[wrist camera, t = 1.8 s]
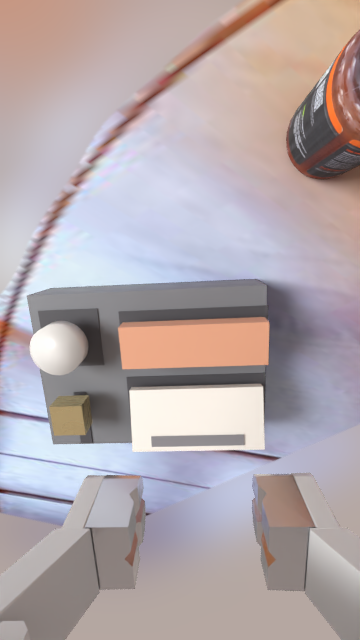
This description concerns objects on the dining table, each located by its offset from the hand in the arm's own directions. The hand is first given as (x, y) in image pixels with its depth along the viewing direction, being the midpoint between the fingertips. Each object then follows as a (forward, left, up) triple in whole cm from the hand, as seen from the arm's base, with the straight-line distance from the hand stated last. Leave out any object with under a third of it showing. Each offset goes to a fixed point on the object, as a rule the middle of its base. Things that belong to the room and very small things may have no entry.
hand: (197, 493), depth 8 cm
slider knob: (+10, +5, -15) cm, 19 cm away
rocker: (0, +6, -14) cm, 15 cm away
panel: (+4, +3, -19) cm, 20 cm away
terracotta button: (0, 0, -14) cm, 14 cm away
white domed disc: (+10, 0, -14) cm, 17 cm away
